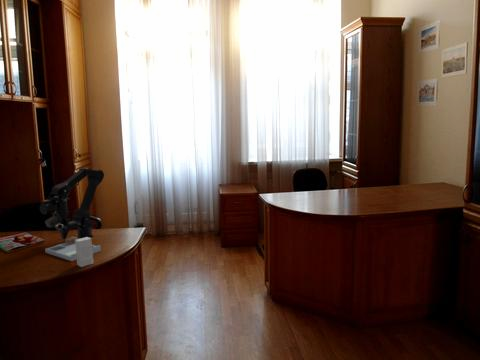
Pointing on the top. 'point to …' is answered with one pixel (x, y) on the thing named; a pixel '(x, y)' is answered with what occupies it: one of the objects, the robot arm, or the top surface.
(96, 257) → the top surface
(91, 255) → the skincare box
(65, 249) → the board
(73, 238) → the brown flat block
